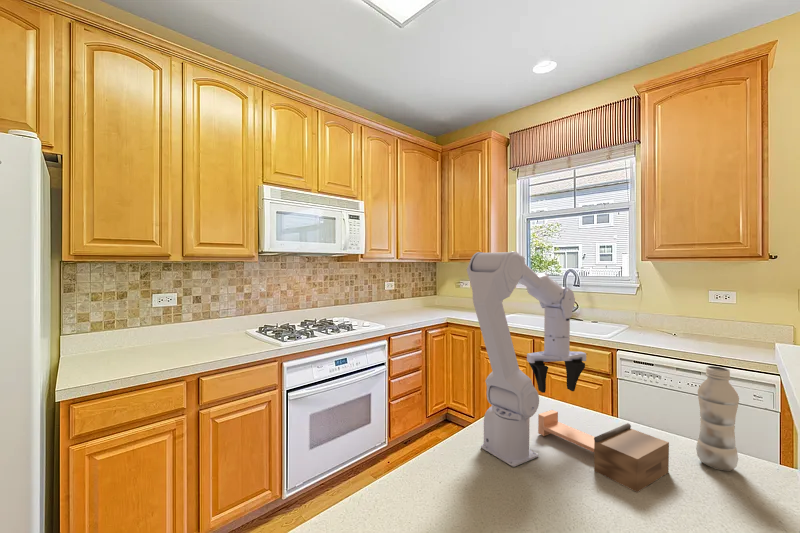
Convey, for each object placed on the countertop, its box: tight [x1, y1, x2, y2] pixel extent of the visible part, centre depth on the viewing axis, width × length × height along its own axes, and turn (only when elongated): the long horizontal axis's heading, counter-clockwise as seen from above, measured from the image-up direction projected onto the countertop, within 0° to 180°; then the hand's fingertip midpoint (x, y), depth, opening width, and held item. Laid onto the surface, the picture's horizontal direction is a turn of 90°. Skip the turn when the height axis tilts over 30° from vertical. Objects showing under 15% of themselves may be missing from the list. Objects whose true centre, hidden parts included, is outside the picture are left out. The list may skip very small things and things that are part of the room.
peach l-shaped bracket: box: [537, 409, 595, 453], centre depth 84 cm, size 14×5×5 cm, turn 32°
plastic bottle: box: [695, 365, 740, 472], centre depth 75 cm, size 6×7×20 cm
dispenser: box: [593, 422, 670, 493], centre depth 73 cm, size 8×12×7 cm
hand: (556, 390), depth 91 cm, fingers open, 7 cm apart
